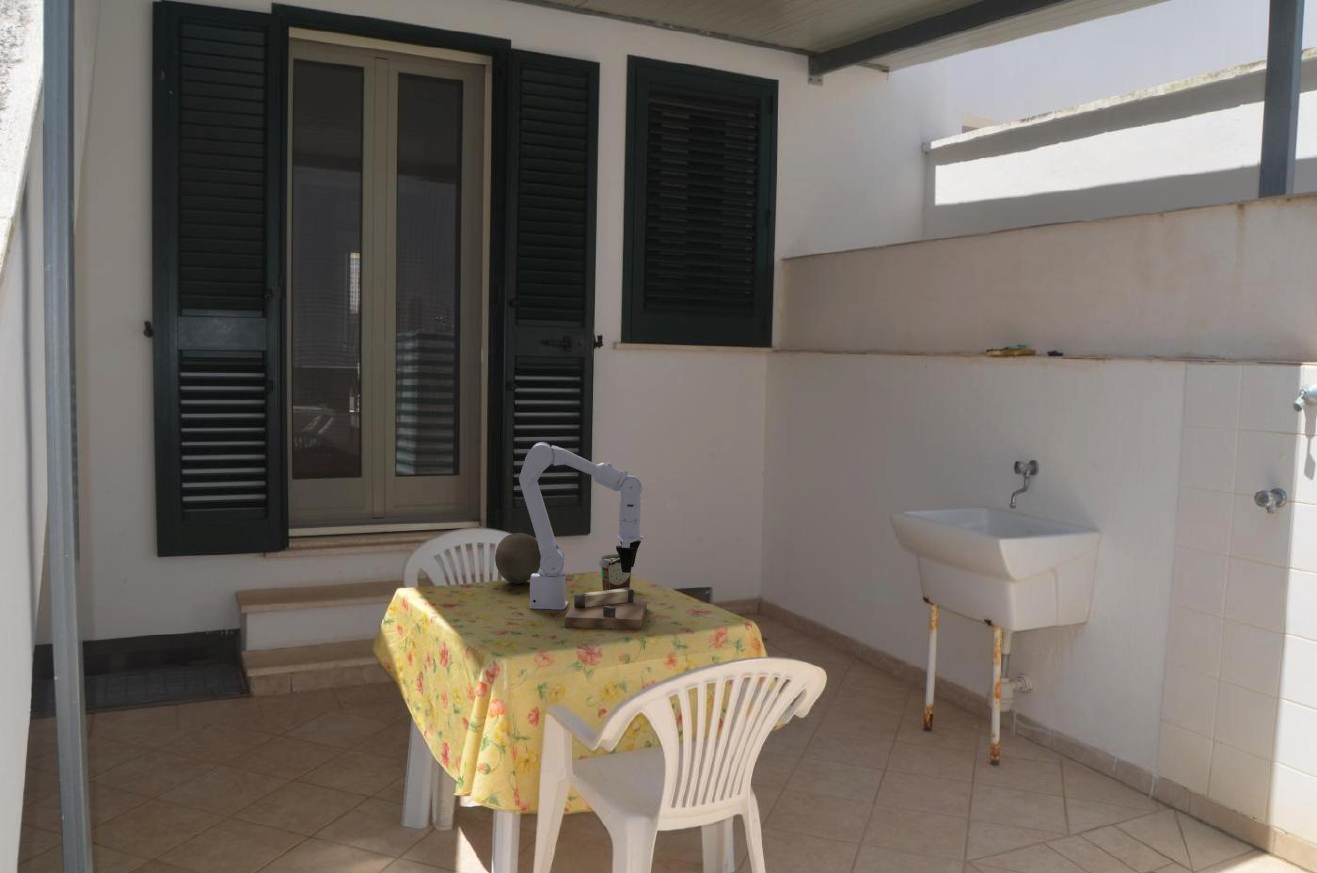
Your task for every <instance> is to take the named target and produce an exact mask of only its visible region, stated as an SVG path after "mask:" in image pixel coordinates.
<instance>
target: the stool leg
mask: <svg viewBox="0 0 1317 873" xmlns="http://www.w3.org/2000/svg"><path fill="white" fill-rule="evenodd" d="M634 595H635V594H634V589H633V588H631V587H630V588H622V589H614V590H606V591H603V590H600V591H598V590H597V591H591V592H583V593H575V594H574V595H573V596H574V598H573V602H574V607H577V608H584V607H591V606H599V605H608V604H616V603H624V602H633V599H634Z"/></svg>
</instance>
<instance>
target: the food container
mask: <svg viewBox="0 0 1317 873" xmlns="http://www.w3.org/2000/svg"><path fill="white" fill-rule="evenodd" d="M598 566H599V567H600V568H601V584H602V591H606V590H614V589H622V588H630V589H631V578H632V570H631V571H630V573H623V572H622V569H621V562H620V557H619V554H618V553H617V554H616V553H615V554H605V555H602V556H601V557H600V559H599V561H598Z"/></svg>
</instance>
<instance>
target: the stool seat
mask: <svg viewBox="0 0 1317 873" xmlns="http://www.w3.org/2000/svg"><path fill="white" fill-rule="evenodd" d="M647 600H648V599H646V598H633V602H624V603H616V604H608V605H599V606H591V607H584V608H577V607H574V601H573V602H572V603H571V605H570V607H569V609H568V611H567V612H566V614H565V616H564V628H581V629H583V628H585V629H586V628H587V629H609V628H612V629H613V630H615V629H614V628H616V630H619V629H618V628H622V629H621V630H639V629H642V625H643V623H644V618H645V614H646V612H647V609H648V608H647V607H648V606H647V604H648V603H647V602H648V601H647ZM642 622H643V623H642Z"/></svg>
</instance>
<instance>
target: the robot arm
mask: <svg viewBox="0 0 1317 873" xmlns="http://www.w3.org/2000/svg"><path fill="white" fill-rule="evenodd" d="M552 463H553V466H555V467H556V466H561V465H563V466H564V465H566V466H568V467H571V468H573V469H576V470H578V471H581V472H583V473H585V474H588V475H589V476H590V475H591V476H592V479H593V481H594V483H596V484H598V485H601V486H603V487H605V488H608V489H610V490H612V491H614V492H620V500H619V509H618V535H617V539H618V540H619V544H620V545H616V546H615V549H616V552H617V554H619V557H620V562H621V569H622V572H623V573H630V571H631V572H632V568H634V565H635V562H636V557H637V552H638V550H639V547H640V545H641V543H642V541H643V540H644V538H645V536H644V535H640V532H641V494H642V492H643V487H642V483H641V481H640V478H639V477H637V476H636V475H635V474H633V473H629V471H627V470H626V469H625V470H624V471H623V470H621V469H619V468H617V467H614V466H613V464H612V462H609V461H608V462H606V463H605V462H601V463H598V464H596V463H594V462H592V461H589V460H588V459H587V458H586V459H585V458H584V457H582V456H579V455H577V453H576V454H575V453H573V452H571V451H569V450H567V449H565V448H562V447H560V446H557V445H553V444H552V445H550V444H549V443H548V442H544V441H542V442H536V443H535V444H534V445H533V446H532V447H531V449H530V450H529V451H528V452H527V454H526V456H525V459H524V462H523V464H522V467H521V470H520V471H521V472H520V474H519V477H518V481H519V484H520V488H521V491H522V494H523V497H524V501H525V504H526V507H527V511H528V514H529V518H530V521H531V524H532V528H533V530H534V534H535V537H536V538H535V539H536V540H537V541H538V545H539V551H540V554H541V561H540V569H539V570H538V572H537V573H533V574H532V575H531V579H530V580H529V581H530V582H529V607H528V608H529V609H531V610H532V609H533V610H534V609H536V610H560V611H561V610H565V609H566V608H567V606H568V604H569V601H567V600H566V588H567V587H566V581H567V580H566V578H567V577H566V576H567V575H566V574H567V572H566V570H565V569H564V566H565V553H564V552H563V550H562V549H561V548H560V547H559V545H558V543H557V540H556V537H555V534H554V531H553V527H552V524H551V521H550V518H549V515H548V511H547V509H546V508H547V507H546V505H545V502H544V498H543V495H542V493H541V489H540V488H541V487H540V485H539V479H540V477H541V475H542V473H543V472H544V471H545V470H546V469H547V468H549V466H551V464H552Z"/></svg>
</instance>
